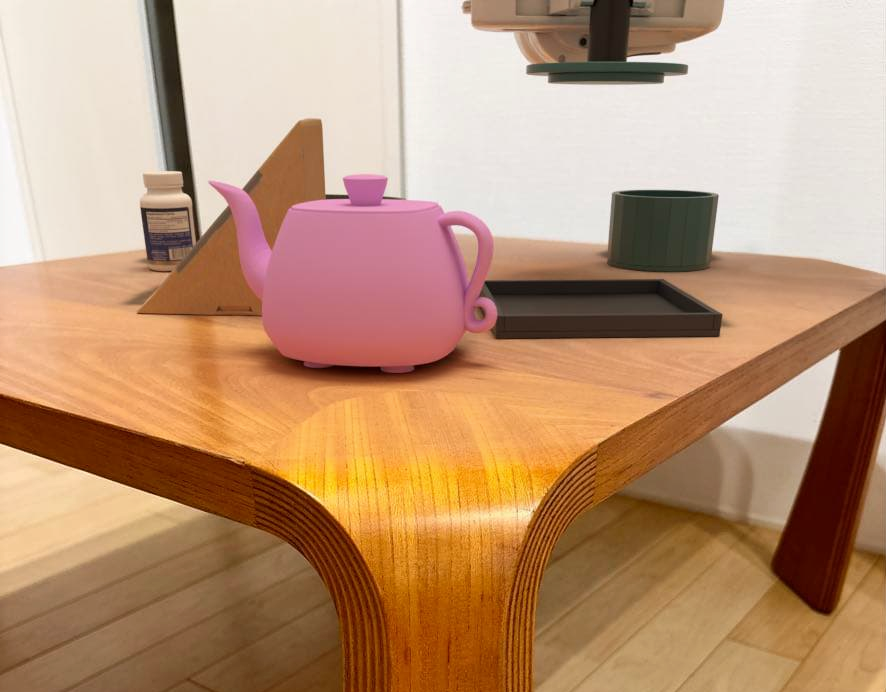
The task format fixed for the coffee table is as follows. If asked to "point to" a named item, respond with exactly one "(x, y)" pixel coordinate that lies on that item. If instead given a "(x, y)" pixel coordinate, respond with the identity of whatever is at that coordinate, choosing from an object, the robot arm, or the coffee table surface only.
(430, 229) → the teapot
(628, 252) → the dark green cylinder
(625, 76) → the tin lid
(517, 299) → the lid tray
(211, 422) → the coffee table surface
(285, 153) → the sandwich container
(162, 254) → the pill bottle
